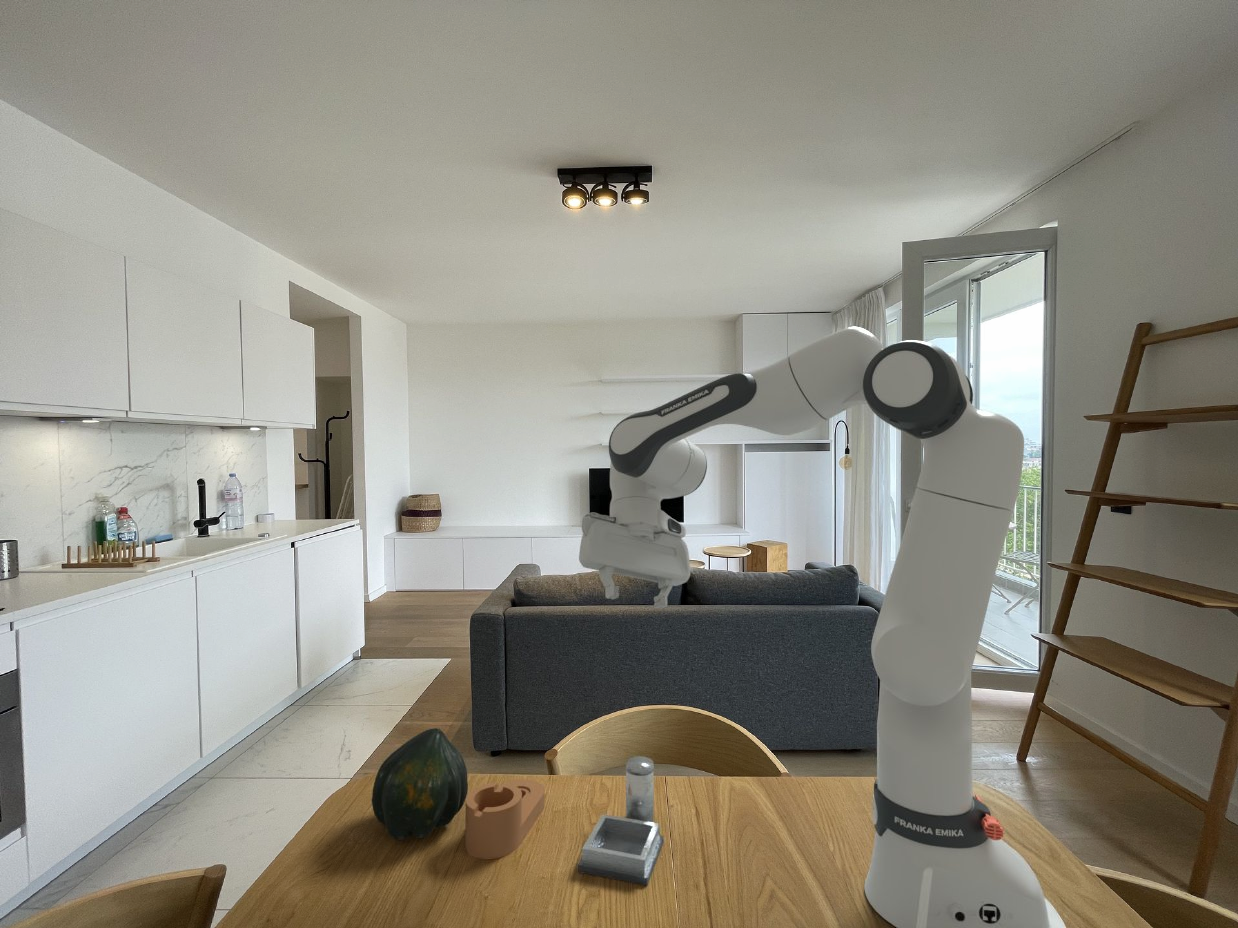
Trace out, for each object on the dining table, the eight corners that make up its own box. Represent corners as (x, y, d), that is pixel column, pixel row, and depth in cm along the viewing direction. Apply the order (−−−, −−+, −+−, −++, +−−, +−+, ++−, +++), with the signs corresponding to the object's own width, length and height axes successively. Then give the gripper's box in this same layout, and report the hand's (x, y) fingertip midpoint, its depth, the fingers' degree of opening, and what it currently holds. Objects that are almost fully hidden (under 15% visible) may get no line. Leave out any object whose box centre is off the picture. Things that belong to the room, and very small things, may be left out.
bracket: (508, 863, 88) (508, 814, 88) (455, 855, 90) (455, 807, 90) (551, 798, 105) (551, 757, 105) (506, 792, 107) (506, 752, 107)
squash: (338, 817, 89) (410, 736, 91) (370, 771, 104) (431, 702, 105) (413, 880, 90) (483, 798, 91) (434, 826, 104) (494, 755, 106)
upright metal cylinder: (656, 813, 100) (656, 758, 100) (649, 829, 96) (649, 770, 96) (630, 809, 101) (630, 754, 101) (622, 824, 97) (622, 766, 97)
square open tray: (663, 842, 92) (663, 822, 92) (647, 885, 83) (647, 862, 83) (600, 831, 95) (600, 811, 95) (577, 871, 86) (577, 849, 86)
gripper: (592, 502, 98) (591, 586, 91) (693, 529, 108) (698, 607, 101) (573, 516, 103) (570, 597, 96) (671, 540, 112) (675, 615, 106)
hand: (637, 602), depth 99 cm, fingers open, 8 cm apart
